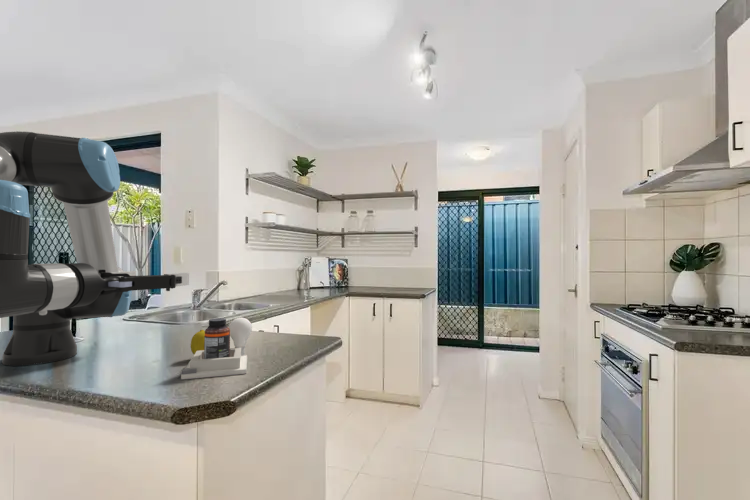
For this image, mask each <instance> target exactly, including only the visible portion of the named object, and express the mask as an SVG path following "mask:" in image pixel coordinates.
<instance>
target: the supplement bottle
mask: <svg viewBox="0 0 750 500" xmlns="http://www.w3.org/2000/svg"><path fill="white" fill-rule="evenodd" d="M204 331H205V343H204V350H205V351H204V359H211V358H224V357H230V348H231V337H230V329H229V326H228V325H227V319H226V318H225V317H223V318H222V317H219V318H218V317H217V318H216V317H215V318H210V319H208V327H207V328H206V329H205V330H204Z"/></svg>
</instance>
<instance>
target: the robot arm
mask: <svg viewBox="0 0 750 500" xmlns="http://www.w3.org/2000/svg"><path fill="white" fill-rule="evenodd" d="M25 186H33V187H42V188H43V187H44V188H50V189H51V192H52V196H53V198H54V199H55V200H57V201H58V202H60V203H62V204H63V207H64V212H65V215H66V219H67V224H68V229H69V233H70V238H71V241H72V242H71V243H72V247H73V251H74V255H75V260H76V263H74V262H72V263H70V262H69V263H59V262H58V263H31V264H29V259H28V258H29V240H30V239H29V237H30V218H31V213H30V205H29V192H28V189H27V188H26V187H25ZM120 186H121V175H120V167H119V161H118V159H117V156H116V153H115V152H114V150H113V147H111V146H110V144H108V143H107V142H105V141H102V140H95V139H91V138H86V137H81V138H80V137H74V136H73V137H72V136H66V135H63V136H62V135H55V134H48V133H47V134H46V133H39V132H32V131H17V130H16V131H4V132H3V131H2V132H0V319H3V318H10V317H12V320H13V321H12V334H11V336H10V338H9V341H8V343H7V345H6V347H5V350H4V352H3V354H2V365H4V366H13V367H14V366H18V367H19V366H29V365H31V366H32V365H39V364H41V365H42V364H46V363H53V362H57V361H63V360H66V359H69V358H73V357H75V356H76V355H77V354H78V345H77V343H76V341H75V338H74V335H73V333H72V330H71V319H88V318H89V319H91V318H92V319H95V318H113V317H123V316H125V315H126V314H127V313H128V312H129V309H130V304H131V301H132V295H133V291H142V290H143V291H145V290H160V289H161V290H162V289H165V291H166V292H170V291H171V289H175V288H176V287H181V286H182V287H183V286H189V285H190V272H175V273H163V274H158V275H157V274H156V275H155V274H154V275H153V274H152V275H151V274H150V275H137V271H136V270H135V271H134V270H128V271H127V270H126V271H124V270H123V269H122V268H120V267H119V266H118V261H117V256H116V250H115V248H116V247H115V242H114V236H113V230H112V229H113V228H112V222H111V217H110V216H111V215H110V208H109V202H108V201H109V200H110V199H112V198H113V197H114V192H118V191H119V189H120Z"/></svg>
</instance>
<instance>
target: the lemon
mask: <svg viewBox="0 0 750 500" xmlns="http://www.w3.org/2000/svg"><path fill="white" fill-rule="evenodd" d="M204 343H205V330H204V329H200V330H199V331H197V332H195V333H194V334H193V336H192V338H191V339H190V350H191V351H190V352H192V354H193V355H194V354H195V353H196V351H200V350H204Z"/></svg>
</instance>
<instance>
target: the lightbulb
mask: <svg viewBox="0 0 750 500" xmlns="http://www.w3.org/2000/svg"><path fill="white" fill-rule="evenodd" d="M228 327H229V329H230V339H231V340H232V342H233V346H234V348H241V356H242V355H246V344H247V340H248V338H250V335H251V334H252V331H253V326H252V323H251V322H250V320H249V319H247V318H245V317H236V318H233V320H231V321H230V322H229V325H228Z"/></svg>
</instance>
